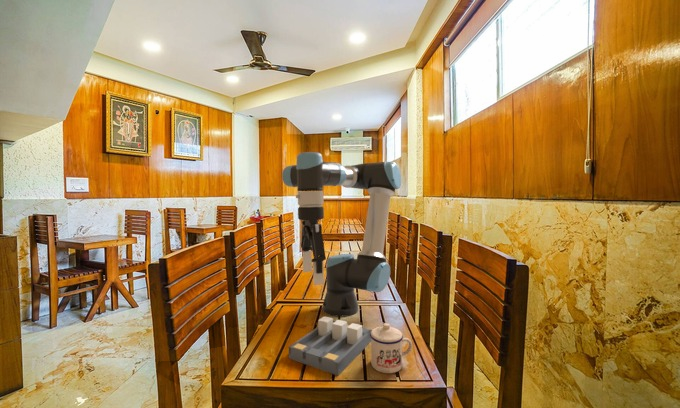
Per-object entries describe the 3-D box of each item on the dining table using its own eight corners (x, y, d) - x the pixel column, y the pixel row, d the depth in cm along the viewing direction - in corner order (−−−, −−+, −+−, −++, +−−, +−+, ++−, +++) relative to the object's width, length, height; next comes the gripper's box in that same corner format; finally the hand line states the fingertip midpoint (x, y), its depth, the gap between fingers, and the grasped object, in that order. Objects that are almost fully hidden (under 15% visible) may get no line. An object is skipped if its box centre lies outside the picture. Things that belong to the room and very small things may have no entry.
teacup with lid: (374, 375, 78) (374, 332, 77) (367, 357, 87) (367, 318, 86) (417, 372, 79) (417, 330, 79) (406, 354, 88) (406, 316, 88)
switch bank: (328, 329, 105) (328, 318, 105) (371, 340, 97) (371, 329, 97) (288, 358, 86) (288, 346, 86) (338, 375, 78) (338, 362, 78)
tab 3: (352, 338, 95) (352, 323, 95) (362, 340, 93) (362, 325, 93) (347, 343, 92) (347, 327, 92) (357, 345, 90) (357, 329, 90)
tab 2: (338, 334, 98) (337, 319, 98) (347, 336, 96) (347, 321, 96) (332, 338, 95) (332, 323, 95) (341, 341, 93) (341, 326, 93)
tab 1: (324, 330, 101) (324, 316, 101) (333, 333, 99) (333, 318, 99) (318, 334, 98) (318, 320, 97) (327, 337, 96) (327, 322, 96)
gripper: (290, 204, 96) (292, 268, 97) (307, 208, 72) (310, 292, 73) (312, 203, 98) (314, 266, 99) (336, 207, 75) (338, 288, 76)
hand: (312, 277), depth 86 cm, fingers open, 13 cm apart
